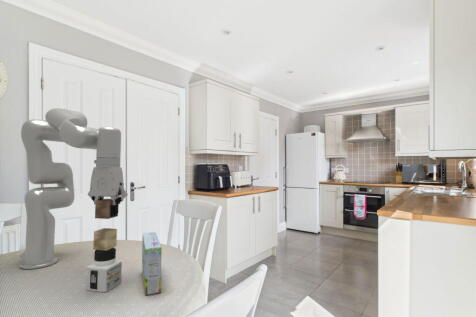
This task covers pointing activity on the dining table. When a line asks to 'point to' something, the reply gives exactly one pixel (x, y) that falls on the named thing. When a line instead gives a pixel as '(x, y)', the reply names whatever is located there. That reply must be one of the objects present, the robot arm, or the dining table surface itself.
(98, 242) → the oak block
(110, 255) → the container
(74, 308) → the dining table surface
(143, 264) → the snack box
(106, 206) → the walnut block
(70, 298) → the dining table surface
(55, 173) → the robot arm
